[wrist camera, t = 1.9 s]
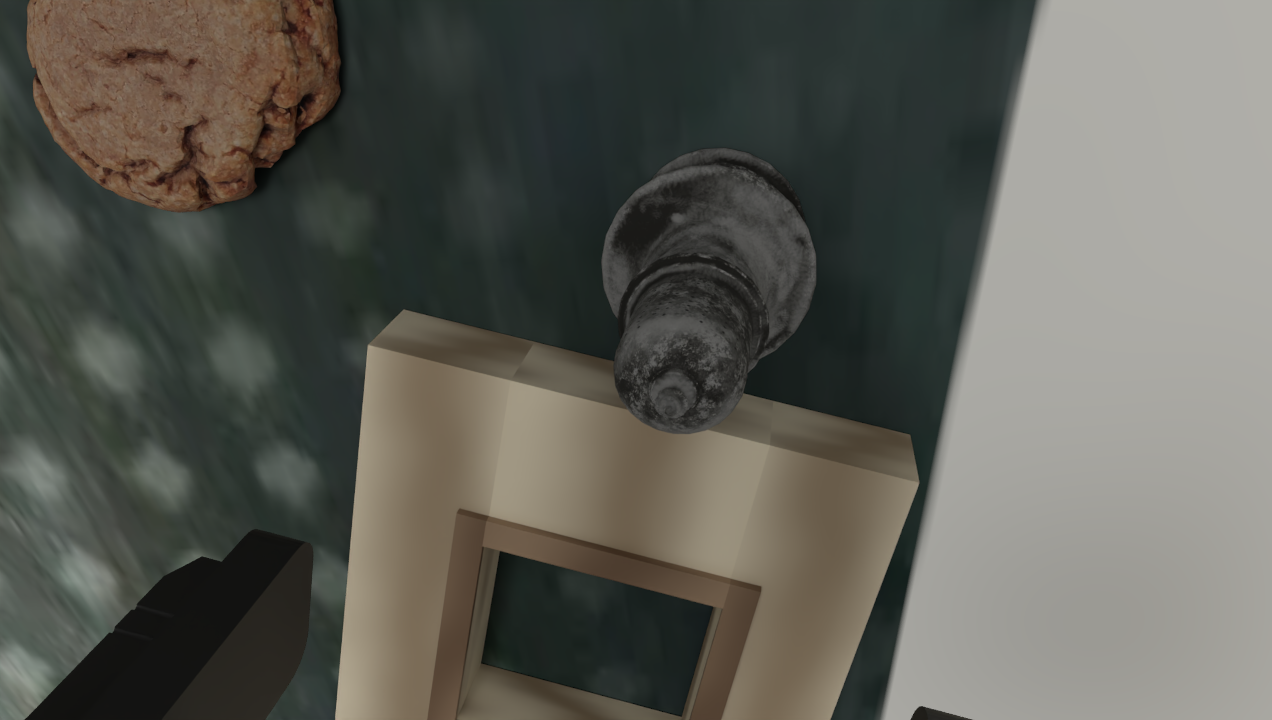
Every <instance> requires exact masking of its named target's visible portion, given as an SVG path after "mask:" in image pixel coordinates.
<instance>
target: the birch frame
mask: <svg viewBox="0 0 1272 720" xmlns="http://www.w3.org/2000/svg"><path fill="white" fill-rule="evenodd" d="M613 364H614V361H610V360H606V359H602V358H598V357H594V356H590V355H586V354H582V353H578V352H574V351H570V350H566V349H562V348H558V347H554V346H550V345H545V344H541V343H537V342H533V341H529V340H525V339H521V338H517V337H513V336H509V335H505V334H501V333H497V332H493V331H489V330H485V329H481V328H477V327H473V326H469V325H465V324H461V323H457V322H452V321H448V320H444V319H440V318H436V317H432V316H428V315H424V314H420V313H416V312H412V311H408V310H403V311H402V312H401V313H400V314H399V315H398V316H397V317H396V318H395V319H394V320H393V321H392V322H391V323H390V324H389V325H388V326H387V327H386V328H385V329H384V330H383V331H382V332H381V333H380V334H379V335H378V336H377V337H376V338H374V339H373V340H372V341H371V342H370V343H369V344H368V351H367V362H366V374H365V385H364V397H363V408H362V419H361V431H360V442H359V454H358V465H357V476H356V488H355V499H354V511H353V522H352V533H351V545H350V556H349V568H348V579H347V590H346V602H345V613H344V625H343V636H342V648H341V659H340V670H339V682H338V693H337V705H336V716H335V720H830V719H831V716H832V714H833V711H834V709H835V706H836V703H837V701H838V698H839V695H840V693H841V690H842V687H843V685H844V682H845V679H846V677H847V674H848V671H849V669H850V666H851V663H852V661H853V658H854V655H855V653H856V650H857V647H858V645H859V642H860V640H861V637H862V634H863V632H864V629H865V626H866V624H867V621H868V618H869V616H870V613H871V610H872V608H873V605H874V602H875V600H876V597H877V594H878V592H879V589H880V586H881V584H882V581H883V578H884V576H885V573H886V571H887V568H888V565H889V563H890V560H891V557H892V555H893V552H894V549H895V547H896V544H897V541H898V539H899V536H900V533H901V531H902V528H903V525H904V523H905V520H906V517H907V515H908V512H909V509H910V507H911V504H912V501H913V499H914V496H915V494H916V491H917V488H918V486H919V478H918V472H917V467H916V462H915V457H914V452H913V446H912V441H911V436H910V435H909V434H905V433H901V432H897V431H893V430H889V429H885V428H881V427H877V426H873V425H869V424H865V423H861V422H857V421H853V420H849V419H845V418H841V417H837V416H832V415H828V414H824V413H820V412H816V411H812V410H808V409H804V408H800V407H796V406H792V405H788V404H784V403H780V402H776V401H772V400H768V399H764V398H760V397H756V396H752V395H748V394H744V393H743V396H742V397H741V399H740V401H739V402H738V404H737V405H736V407H735V409H734V410H733V411H732V413H731V414H730V415H729V416H727V417H726V418H725V419H724V420H723V421H722V422H721V423H720V424H718V425H716V426H714V427H712V428H710V429H708V430H706V431H701V432H697V433H693V434H672V433H667V432H663V431H659V430H656V429H654V428H652V427H650V426H648V425H646V424H644V423H642V422H641V421H640V420H639V419H637V418H636V417H635V416H634V415H632V414H631V413H630V412H629V410H628V409H627V408H626V406H625V405H624V404H623V402H622V401H621V399H620V397H619V394H618V392H617V389H616V387H615V378H614V368H613ZM500 551H502V552H506V553H510V554H514V555H518V556H522V557H525V558H529V559H533V560H537V561H541V562H545V563H549V564H552V565H556V566H560V567H564V568H568V569H572V570H575V571H579V572H583V573H587V574H591V575H595V576H598V577H602V578H606V579H610V580H614V581H618V582H621V583H625V584H629V585H633V586H637V587H641V588H644V589H648V590H652V591H656V592H660V593H664V594H668V595H671V596H675V597H679V598H683V599H687V600H691V601H694V602H698V603H702V604H706V605H710V606H714V607H713V610H712V614H711V617H710V621H709V624H708V628H707V631H706V635H705V638H704V641H703V645H702V648H701V652H700V655H699V659H698V662H697V666H696V669H695V673H694V676H693V679H692V683H691V686H690V690H689V693H688V697H687V700H686V704H685V707H684V711H683V714H682V717H679V716H676V715H672V714H668V713H664V712H661V711H657V710H653V709H650V708H646V707H642V706H638V705H635V704H631V703H627V702H623V701H620V700H616V699H612V698H608V697H605V696H601V695H597V694H594V693H590V692H586V691H582V690H579V689H575V688H571V687H567V686H564V685H560V684H556V683H552V682H549V681H545V680H541V679H537V678H534V677H530V676H526V675H523V674H519V673H515V672H511V671H508V670H504V669H500V668H496V667H493V666H489V665H485V664H481V661H482V655H483V649H484V643H485V637H486V631H487V625H488V619H489V613H490V607H491V601H492V595H493V589H494V583H495V577H496V571H497V565H498V559H499V553H500Z"/></svg>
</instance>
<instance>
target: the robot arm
mask: <svg viewBox="0 0 1272 720" xmlns="http://www.w3.org/2000/svg"><path fill="white" fill-rule="evenodd" d="M312 569H313V548H312V545H311V544H310V543H308V542H304V541H300V540H296V539H293V538H289V537H285V536H281V535H277V534H274V533H270V532H266V531H262V530H258V529H254V530H252V531H250V532H249V533H248V534H247V535H246V536H245V537H244V538H243V539H242V540H241V541H240V542H239V543H238V544H237V545H236V547H235V548H234V549H233V550H232V551H231V552H230V553H229V554H228V555H227V557H226V558H225V559H224V560H223V561H222V562H221V561H217V560H213V559H209V558H206V557H200V558H198V559H196V560H194V561H192V562H191V563H189V564H187V565H185V566H183V567H181V568H179V569H177V570H175V571H173V572H171V573H169V574H167V575H166V576H164V577H163V578H162V579H161V580H160V581H159V582H158V583H157V584H156V585H155V586H154V587H153V588H152V589H151V590H150V591H149V592H148V593H147V594H146V595H145V596H144V597H143V598H142V599H141V600H140V601H139V602H138V603H137V606H136V609H135V610H131V611H130V612H129V613H128V614H127V615H126V616H125V617H124V618H123V619H122V620H121V621H120V622H119V623H118V624H117V625H116V626H115V629H114V631H113V633H108V634H107V636H106V637H105V638H104V639H103V640H102V641H101V642H100V643H99V644H98V645H97V646H96V647H95V648H94V649H93V650H92V651H91V652H90V653H89V654H88V655H87V656H86V657H85V658H84V659H83V660H82V661H81V662H80V663H79V664H78V665H77V666H76V668H75V669H74V670H73V671H72V672H71V673H70V674H69V675H68V676H67V677H66V678H65V679H64V680H63V681H62V682H61V683H60V684H59V685H58V686H57V687H56V688H55V689H54V690H53V691H52V692H51V693H50V694H49V695H48V696H47V697H46V699H45V700H44V701H43V702H42V703H41V704H40V705H39V706H38V707H37V708H36V709H35V710H34V711H33V712H32V713H31V714H30V715H29V716H28V717H27V718H26V719H25V720H265V719H266V718H267V716H268V715H269V713H270V712H271V710H272V709H273V707H274V706H275V704H276V703H277V701H278V700H279V698H280V697H281V695H282V694H283V692H284V691H285V689H286V688H287V686H288V685H289V683H290V682H291V680H292V678H293V677H294V675H295V673H296V671H297V669H298V666H299V664H300V661H301V659H302V656H303V653H304V650H305V646H306V642H307V637H308V628H309V613H310V598H311V584H312ZM911 720H972V719H968V718H964V717H960V716H957V715H953V714H949V713H945V712H942V711H938V710H934V709H930V708H926V707H923V706H921V707H919V708H917V710H916V711H915V712H914V714H913V716H912V718H911Z"/></svg>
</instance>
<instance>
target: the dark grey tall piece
mask: <svg viewBox="0 0 1272 720" xmlns="http://www.w3.org/2000/svg"><path fill="white" fill-rule="evenodd" d="M601 263H602V274H603V285H604V290H605V292H606V295H607V298H608V300H609V303H610V306H611V308H612V311H613V313H614V314H615V316H616V317H617V319H618V327H619V336H620V338H621V340H620V343H619V345H618V347H617V350H616V354H615V359H614V364H613V368H614V378H615V387H616V389H617V392H618V394H619V397H620V399H621V401H622V402H623V404H624V405H625V406H626V408H627V409H628V410H629V412H630V413H631V414H632V415H634V416H635V417H636V418H637V419H639V420H640V421H641V422H642V423H644V424H646V425H648V426H650V427H652V428H654V429H656V430H659V431H663V432H667V433H672V434H693V433H697V432H701V431H706V430H708V429H710V428H712V427H714V426H716V425H718V424H720V423H721V422H722V421H723V420H724V419H725V418H726V417H727V416H729V415H730V414H731V413H732V411H733V410H734V409H735V407H736V405H737V404H738V402H739V401H740V399H741V397H742V396H743V392H744V388H745V385H746V381H747V373H748V372H749V371H751V370H752V369H753V368H754V367H755V366H756V364H757V362H758V361H759V359H761V358H762V357H764V356H766V355H768V354H770V353H772V352H773V351H775V350H776V349H778V348H779V347H780V346H781V345H782V344H783V343H784V342H785V341H786V340H787V339H788V338H789V337H790V336H791V335H792V334H794V333H795V331H796V330H797V328H798V326H799V325H800V323H801V321H802V320H803V318H804V317H805V315H806V313H807V312H808V310H809V307H810V304H811V300H812V297H813V293H814V290H815V286H816V253H815V250H814V246H813V243H812V239H811V236H810V233H809V229H808V227H807V226H806V224H805V218H804V215H803V211H802V208H801V204H800V201H799V198H798V197H797V195H796V193H795V192H794V190H793V189H792V187H791V185H790V184H789V182H788V181H787V179H786V178H785V177H784V176H782V175H781V174H780V173H779V172H778V171H777V170H776V169H775V168H774V167H773V166H772V165H771V164H769V163H767V162H765V161H763V160H762V159H760V158H758V157H756V156H754V155H752V154H750V153H747V152H743V151H738V150H734V149H729V148H709V149H700V150H697V151H694V152H691V153H688V154H684V155H681V156H679V157H678V158H676V159H674V160H673V161H671V162H670V163H668V164H667V165H665V166H664V167H662V168H661V169H660V170H659V171H658V172H657V173H656V174H655V175H654V177H653V178H652V179H651V180H650V181H649V182H648V183H646V184H645V185H643V186H642V187H640V188H639V189H637V190H636V191H635V192H634V193H633V194H632V196H631V197H630V198H629V199H628V200H627V201H626V202H625V203H624V204H623V206H622V207H621V208H620V209H619V210H618V212H617V214H616V216H615V218H614V220H613V222H612V224H611V226H610V228H609V230H608V232H607V234H606V238H605V244H604V249H603V255H602V260H601Z"/></svg>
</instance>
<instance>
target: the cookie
mask: <svg viewBox="0 0 1272 720" xmlns="http://www.w3.org/2000/svg"><path fill="white" fill-rule="evenodd" d="M27 13H28V26H27V50H28V54H29V58H30V62H31V64H32V67H33V68H36V69H37V74H35V77H34V81H33V96H34V100H35V104H36V106H37V108H38V110H39V111H40V113H41V115H42V117H43V120H44V122H45V124H46V126H47V127H48V129H49V130H50V132H51V134H52V136H53V138H54V141H56V142H57V143H58V144H59V145H60V146H61V148H62V149H63V150H64V151H65V153H66V154H67V155H68V156H70V157H71V158H72V159H73V160H74V161H75V162H76V163H77V164H78V165H79V166H80V167H81V168H82V169H83V170H84V171H85V172H86V173H87V174H88V175H89V177H91V178H92V179H93V180H95V181H96V182H97V183H99V184H100V185H101V186H102V187H104V188H106V189H108V190H112V191H113V192H115V193H116V194H118V195H120V196H121V197H124V198H127V199H130V200H133V201H137V202H140V203H143V204H145V205H148V206H151V207H155V208H159V209H162V210H167V211H172V212H188V211H202V210H204V209H206V208H209V207H211V206H213V205H215V204H218V203H224V202H226V201H228V202H230V201H235V200H238V199H242V198H245V197H246V196H248V195H250V194H251V193H252V192H253V191H254V190H255V188H256V187H257V185H256V183H255V182H254V172H255V168H258V167H267V168H271V167H272V165H273V164H274V163H275V162H276V161H277V160H279V159H280V157H281V155H282V154H283V150H287V149H289V148H291V147H292V146H293V145H295V138H296V137H297V136H298V135H299V134H300V132H301V131H302V130H303V129H305V128H306V127H308V126H310V125H312V124H314V123H316V122H318V121H320V120H321V119H322V118H323V117H324V116H325V115H326V114H327V113H328V112H329V111H330V110H331V109H332V108H333V107H334V105H335V103H336V101H337V99H338V97H339V95H340V92H341V90H340V85H339V68H340V64H341V60H340V56H339V53H338V36H337V18H336V15H335V13H334V6H333V0H30V2H29V4H28V7H27Z"/></svg>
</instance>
